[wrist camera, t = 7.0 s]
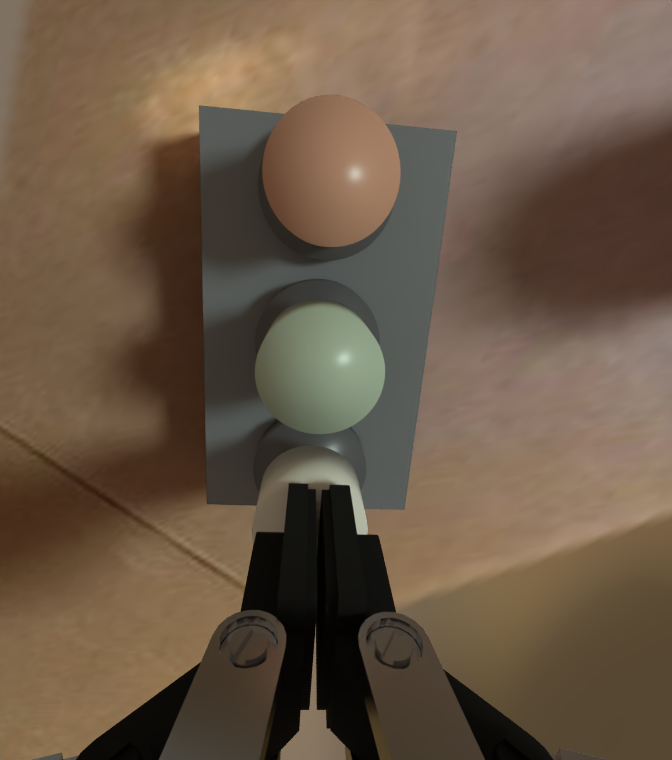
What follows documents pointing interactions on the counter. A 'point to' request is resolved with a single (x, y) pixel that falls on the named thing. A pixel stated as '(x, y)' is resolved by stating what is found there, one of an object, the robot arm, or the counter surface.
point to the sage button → (319, 367)
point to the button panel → (308, 281)
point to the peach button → (331, 170)
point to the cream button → (306, 468)
